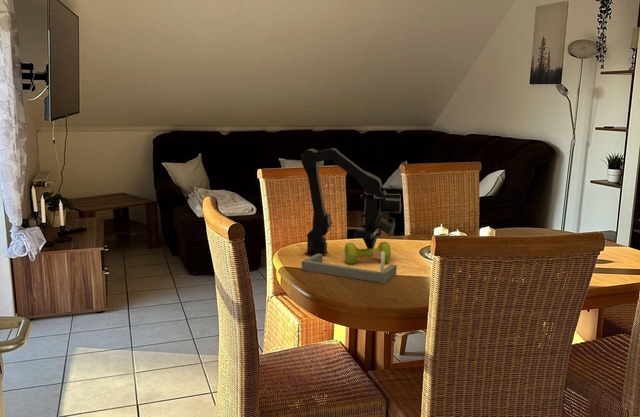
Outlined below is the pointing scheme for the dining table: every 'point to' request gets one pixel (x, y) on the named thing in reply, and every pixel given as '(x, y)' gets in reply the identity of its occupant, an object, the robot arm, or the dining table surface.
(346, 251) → the dumbbell
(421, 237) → the dining table surface
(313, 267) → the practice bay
